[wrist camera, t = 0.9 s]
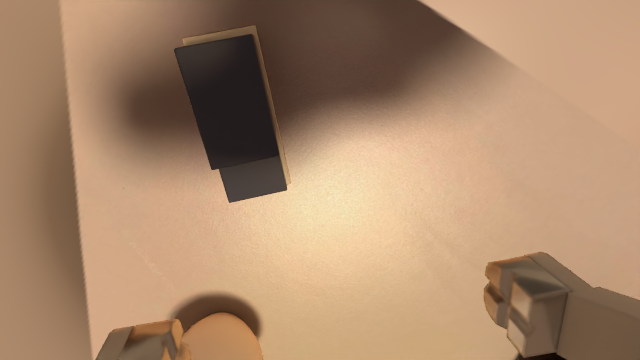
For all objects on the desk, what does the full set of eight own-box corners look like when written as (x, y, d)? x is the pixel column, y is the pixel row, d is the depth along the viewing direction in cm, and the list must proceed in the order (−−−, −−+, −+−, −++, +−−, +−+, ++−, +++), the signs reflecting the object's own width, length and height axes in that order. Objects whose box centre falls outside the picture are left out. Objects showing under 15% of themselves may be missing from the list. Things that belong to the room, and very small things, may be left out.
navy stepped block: (185, 38, 23) (166, 39, 19) (255, 25, 24) (253, 22, 19) (230, 191, 28) (224, 221, 23) (290, 178, 28) (295, 206, 23)
